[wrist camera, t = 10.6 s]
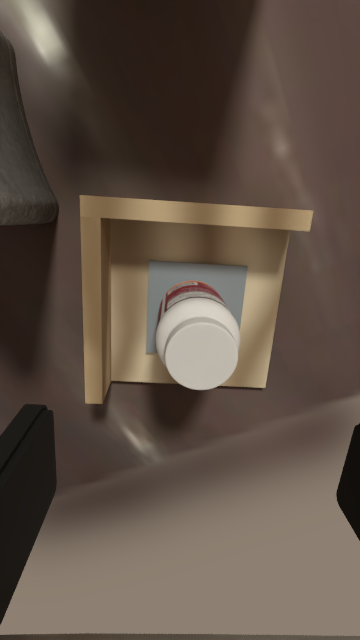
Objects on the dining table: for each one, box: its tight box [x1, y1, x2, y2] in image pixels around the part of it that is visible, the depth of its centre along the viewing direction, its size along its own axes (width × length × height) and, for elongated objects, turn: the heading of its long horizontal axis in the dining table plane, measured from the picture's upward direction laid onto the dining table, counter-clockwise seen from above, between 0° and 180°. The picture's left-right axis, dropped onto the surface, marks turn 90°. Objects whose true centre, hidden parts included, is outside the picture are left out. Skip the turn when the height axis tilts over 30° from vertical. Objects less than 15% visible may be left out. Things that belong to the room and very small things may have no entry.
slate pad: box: [146, 260, 248, 353], centre depth 31 cm, size 9×9×1 cm
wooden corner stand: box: [80, 195, 313, 404], centre depth 29 cm, size 18×18×5 cm
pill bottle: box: [156, 281, 240, 390], centre depth 26 cm, size 6×6×11 cm
